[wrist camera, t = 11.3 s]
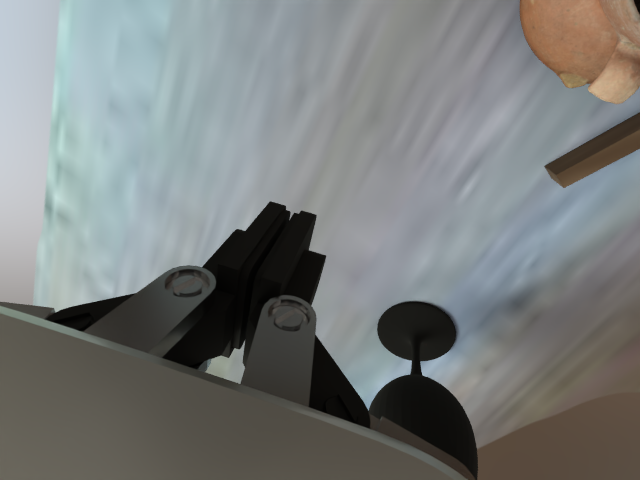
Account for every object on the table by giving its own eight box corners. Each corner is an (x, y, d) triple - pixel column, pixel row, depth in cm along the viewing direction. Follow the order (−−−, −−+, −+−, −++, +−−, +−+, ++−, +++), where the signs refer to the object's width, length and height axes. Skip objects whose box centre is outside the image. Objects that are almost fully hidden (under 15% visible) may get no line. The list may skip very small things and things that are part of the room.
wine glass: (417, 287, 42) (422, 442, 25) (473, 336, 43) (515, 514, 26) (361, 327, 47) (334, 477, 30) (413, 369, 49) (416, 536, 31)
